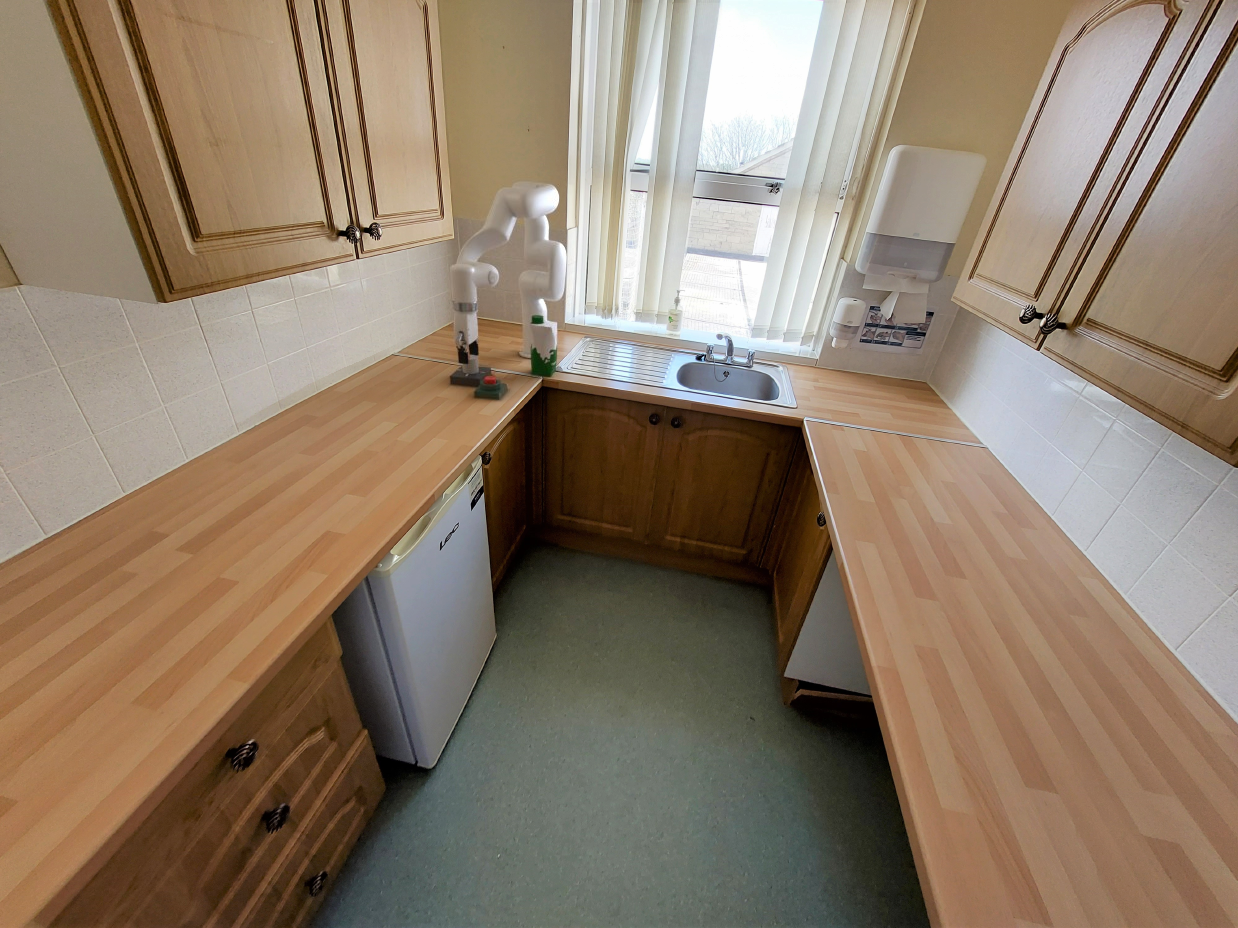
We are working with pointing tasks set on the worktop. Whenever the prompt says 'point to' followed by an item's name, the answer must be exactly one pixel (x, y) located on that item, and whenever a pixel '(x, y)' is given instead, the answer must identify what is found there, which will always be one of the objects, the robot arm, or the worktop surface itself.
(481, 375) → the dial panel
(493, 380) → the button
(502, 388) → the button box
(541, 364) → the milk carton
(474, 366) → the dial knob
